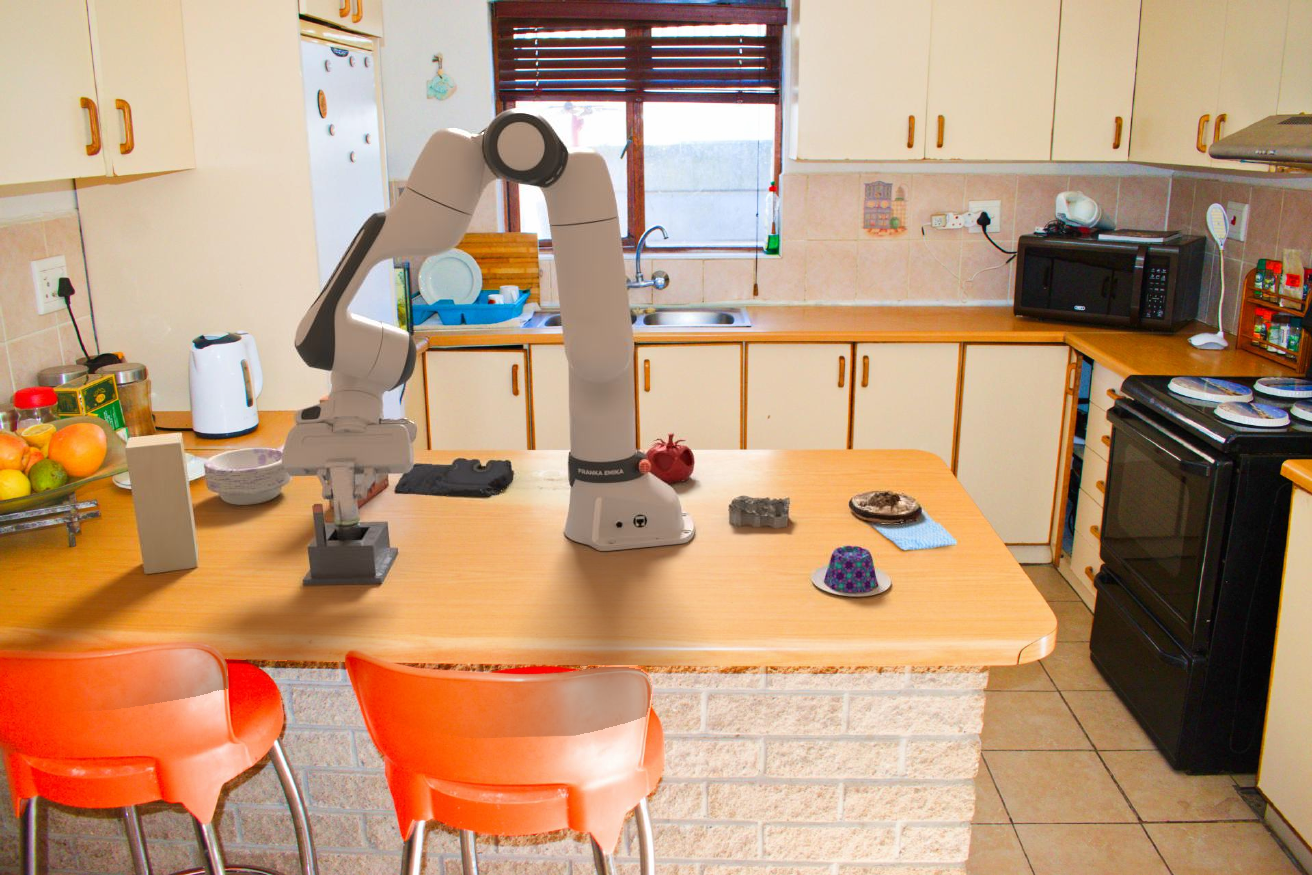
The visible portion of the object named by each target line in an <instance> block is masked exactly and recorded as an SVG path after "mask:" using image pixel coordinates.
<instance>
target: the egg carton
mask: <svg viewBox="0 0 1312 875" xmlns="http://www.w3.org/2000/svg"><path fill="white" fill-rule="evenodd" d="M790 505H791V500H790V497H786V498H777V499H776V498H772V499H771V498H770V497H768V496H767V497H763V498H762V497H750V496H747V495H739V496H737V497H735V498H733V499H732V500H731V503H730V504H728V523H729V524H732V525H734V526H736V527H742V526H744V525H750V526H753V527H754V528H761V527H764V526H769V527H772V528H773V529H781V528H783V527H787V526H788V520H789V518H790ZM760 514H761V515H760ZM777 515H780V516H777Z"/></svg>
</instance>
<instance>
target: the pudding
mask: <svg viewBox="0 0 1312 875" xmlns="http://www.w3.org/2000/svg"><path fill="white" fill-rule="evenodd" d="M873 559H874V558H873V556H872V554H871V552H870V550H868V549H866V548H863V547H861V546H857V545H853V546H852V545H843V546H841V547H840V546H838V547H836V548H835V549H834V550H833V552H832V554H831V556H830V560H829V562H828V564H826V565H823V566H820V567H818V568H816V569H815V570H814V571H813V572H812V573H811V575H810V580H811V581H812V583H813V584H814V585H815V586H816V587H817V588H819V589H821V590H823V591H825V592H827V593H831V594H834V595H839V596H846V597H869V596H874V595H877V594H880V593H883V592H885V591H886V590H888V589H889V588H890V586H891V585H892V580H891V578H890V576H889V575H888V574H887V573H885V572H884V571H882V570H880V569H879V568H876V567H875V564H874V560H873ZM828 586H829V587H828ZM872 589H873V590H872Z"/></svg>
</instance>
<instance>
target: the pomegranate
mask: <svg viewBox="0 0 1312 875" xmlns="http://www.w3.org/2000/svg"><path fill="white" fill-rule="evenodd" d="M667 436H668V440H667V442H666V441H665V440H663V439H662V438H657V439H655V440H653V442H655V441H660V442H656V443H654V444H652V445H651V447H650V449H648V450H647V451H646V452H645V453H646V455H647V456H648V460H649V461H650V463H651V468H650V469H651V470H650V471H649V472H650V473H651V474H653V475H654V476H656V477H657V478H659V479H660V480H662V481H663V482H665V483H666V484H673V483H680V482H684V481H686V480H688V479H689V478H690V477H691V476H692V474H693V473H694V469H695V463H696V462H695V455H694V453H693V451H692V449H691V448H690V447H688V446H686V445H682V444H679V443H680V442H686V439H677V440H676V441H674V436H675V433H673V432H670V433H668V434H667ZM673 441H674V442H673Z"/></svg>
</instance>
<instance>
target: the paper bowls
mask: <svg viewBox="0 0 1312 875" xmlns="http://www.w3.org/2000/svg"><path fill="white" fill-rule="evenodd" d="M282 454H283V449H277V448H271V447H270V448H269V447H249V448H240V449H233V450H228V451H225V452H220V453H218V454H216V455H213V456H210V457H209V458H207V459H206V460H205V461H204V464H203V468H204V478H205V484H206V488H207V489H208V490H209V491H211V492H212V493H217V494H218V495H219V497H220V498H221V499H222V500H223V501H224V502H225V503H227V504H232V505H236V506H248V505H249V506H250V505H257V504H262V503H266V502H269V501H271V500H273V499H275V498H276V497H277V496H278V495H280V493H281V491H282V488H283V487H284V486H286V485H288V484H289V483H290V482H291V481H292V479H293V478H292V477H293V476H290V475H289V474H288V473H287V472H286V470H285V469H284V467H283V466H282V462H281V460H282Z"/></svg>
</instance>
